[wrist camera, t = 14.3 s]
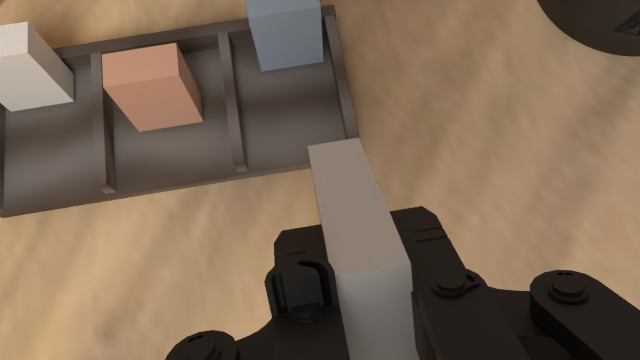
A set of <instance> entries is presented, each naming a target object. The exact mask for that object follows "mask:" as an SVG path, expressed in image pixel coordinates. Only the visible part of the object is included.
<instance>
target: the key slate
mask: <svg viewBox="0 0 640 360" xmlns="http://www.w3.org/2000/svg"><path fill="white" fill-rule="evenodd" d="M245 1H246V8H247V15H248V20H249V24H250V28H251V32H252V36H253V40H254V44H255V48H256V52H257V56H258V59H259V63H260V67H261V71H262V72H263V71H269V70H275V69H282V68H288V67H294V66H300V65H307V64H313V63H319V62H324V60H323V41H322V23H321V6H320V1H319V0H245Z"/></svg>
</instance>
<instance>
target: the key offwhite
mask: <svg viewBox="0 0 640 360" xmlns="http://www.w3.org/2000/svg"><path fill="white" fill-rule="evenodd" d="M68 102H74V76H73V73H72V72H71V71H70V70H69V68H68V67H67V66H66V65H65V64H64V63H63V61H62V60H61V59H60V58H59V57H58V56H57V55H56V53H55V52H54V51H53V50H52V49H51V48H50V47H49V45H48V44H47V43H46V42H45V41H44V40H43V38H42V37H41V36H40V35H39V34H38V33H37V32H36V30H35V29H34V28H33V27H32V26H31V25H30V24H29V22H22V23H15V24H9V25H2V26H0V103H1V104H2V105H3V106H5V107H6V108H7V109H8V110H10V111H11V112H12V111H18V110H24V109H31V108H37V107H43V106H49V105H56V104H62V103H68Z"/></svg>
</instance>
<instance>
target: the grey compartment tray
mask: <svg viewBox="0 0 640 360" xmlns="http://www.w3.org/2000/svg"><path fill="white" fill-rule="evenodd" d="M321 23H322V41H323V60H324V62H319V63H313V64H307V65H300V66H294V67H288V68H282V69H275V70H269V71H263V72H262V71H261V67H260V63H259V59H258V56H257V52H256V48H255V44H254V40H253V36H252V32H251V28H250V24H249V20H248V18H245V19H239V20H233V21H226V22H220V23H214V24H207V25H201V26H195V27H188V28H182V29H176V30H169V31H163V32H156V33H150V34H144V35H137V36H131V37H125V38H118V39H112V40H106V41H99V42H93V43H87V44H80V45H74V46H68V47H61V48H55V49H52V50H53V51H54V52H55V53H56V55H57V56H58V57H59V58H60V59H61V60H62V61H63V63H64V64H65V65H66V66H67V67H68V68H69V70H70V71H71V72H72V73H73V76H74V102H68V103H62V104H56V105H49V106H43V107H37V108H31V109H24V110H18V111H12V112H11V111H10V110H8V109H7V108H6V107H5V106H3V105H2V104H1V103H0V217H1V218H5V217H11V216H17V215H24V214H30V213H36V212H42V211H48V210H54V209H60V208H66V207H73V206H79V205H85V204H91V203H97V202H103V201H109V200H115V199H122V198H128V197H134V196H140V195H146V194H152V193H158V192H164V191H171V190H177V189H183V188H189V187H195V186H201V185H207V184H213V183H220V182H226V181H232V180H238V179H244V178H250V177H256V176H263V175H269V174H275V173H281V172H287V171H293V170H299V169H305V168H311V164H310V157H309V151H308V146H310V145H316V144H323V143H329V142H335V141H341V140H347V139H353V138H359V135H358V130H357V125H356V120H355V115H354V110H353V105H352V100H351V95H350V90H349V85H348V80H347V75H346V70H345V65H344V60H343V55H342V50H341V45H340V40H339V35H338V30H337V25H336V14H335V9H334V5H328V6H322V7H321ZM171 43H176V44H177V46H178V48H179V50H180V52H181V54H182V56H183V58H184V60H185V62H186V64H187V66H188V68H189V70H190V73H191V75H192V77H193V79H194V81H195V83H196V85H197V87H198V89H199V91H200V93H201V102H202V112H203V121H204V122H199V123H193V124H186V125H180V126H174V127H168V128H161V129H155V130H149V131H143V132H139V131H138V130H137V129H136V127H135V126H134V125H133V124H132V122H131V121H130V120H129V119H128V117H127V116H126V115H125V114H124V112H123V111H122V110H121V109H120V107H119V106H118V105H117V104H116V102H115V101H114V100H113V99H112V98H111V96H110V95H109V94H108V93H107V91H106V90H105V89H104V88H103V70H102V54H108V53H114V52H121V51H127V50H133V49H140V48H146V47H152V46H159V45H165V44H171Z"/></svg>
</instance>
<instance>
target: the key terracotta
mask: <svg viewBox="0 0 640 360" xmlns="http://www.w3.org/2000/svg"><path fill="white" fill-rule="evenodd" d="M102 70H103V88H104V89H105V90H106V91H107V93H108V94H109V95H110V96H111V98H112V99H113V100H114V101H115V102H116V104H117V105H118V106H119V107H120V109H121V110H122V111H123V112H124V114H125V115H126V116H127V117H128V119H129V120H130V121H131V122H132V124H133V125H134V126H135V127H136V129H137V130H138V131H139V132H143V131H149V130H155V129H161V128H168V127H174V126H180V125H186V124H193V123H199V122H204V121H203V112H202V102H201V93H200V91H199V89H198V87H197V85H196V83H195V81H194V79H193V77H192V75H191V73H190V70H189V68H188V66H187V64H186V62H185V60H184V58H183V56H182V54H181V52H180V50H179V48H178V46H177V44H176V43H171V44H165V45H159V46H152V47H146V48H140V49H133V50H127V51H121V52H114V53H108V54H102Z"/></svg>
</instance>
